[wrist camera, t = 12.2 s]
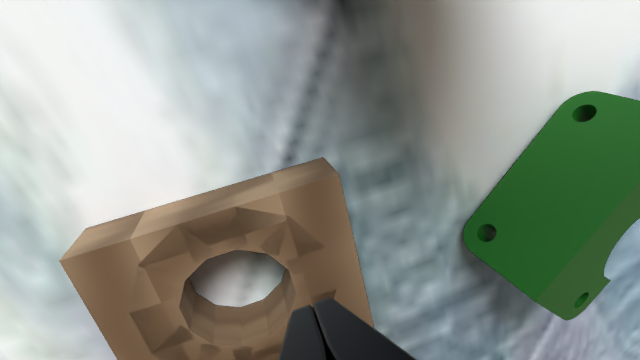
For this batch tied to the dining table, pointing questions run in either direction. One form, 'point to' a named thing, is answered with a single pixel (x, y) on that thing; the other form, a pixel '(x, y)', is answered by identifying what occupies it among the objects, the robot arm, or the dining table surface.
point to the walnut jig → (209, 241)
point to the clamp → (564, 203)
